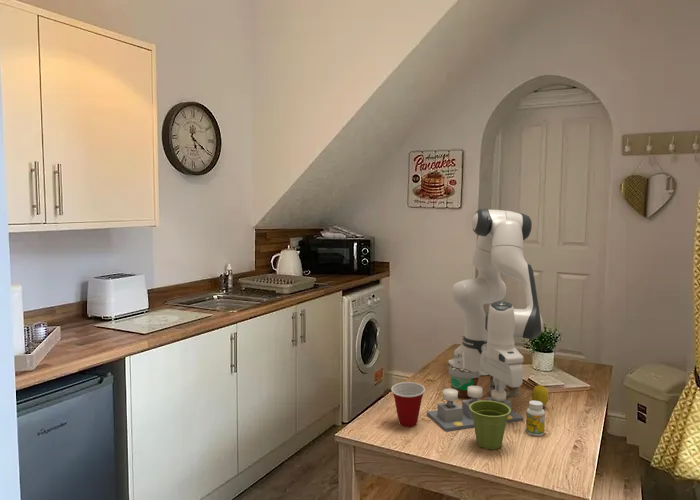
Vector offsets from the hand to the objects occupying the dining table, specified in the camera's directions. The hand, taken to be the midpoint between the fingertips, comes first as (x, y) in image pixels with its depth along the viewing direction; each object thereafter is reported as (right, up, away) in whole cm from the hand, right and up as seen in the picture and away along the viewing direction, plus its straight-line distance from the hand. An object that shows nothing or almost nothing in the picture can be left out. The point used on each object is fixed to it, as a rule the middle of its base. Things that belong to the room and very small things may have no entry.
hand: (499, 391), depth 185 cm
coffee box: (+7, -6, +19) cm, 21 cm away
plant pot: (-9, -10, -21) cm, 25 cm away
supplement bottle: (+7, -10, -13) cm, 18 cm away
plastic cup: (-31, -9, -6) cm, 33 cm away
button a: (0, -6, +1) cm, 6 cm away
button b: (-9, -5, -2) cm, 10 cm away
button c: (-17, -5, -5) cm, 19 cm away
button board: (-9, -8, -2) cm, 12 cm away
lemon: (+16, -7, +7) cm, 19 cm away
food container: (-10, -6, +18) cm, 21 cm away
